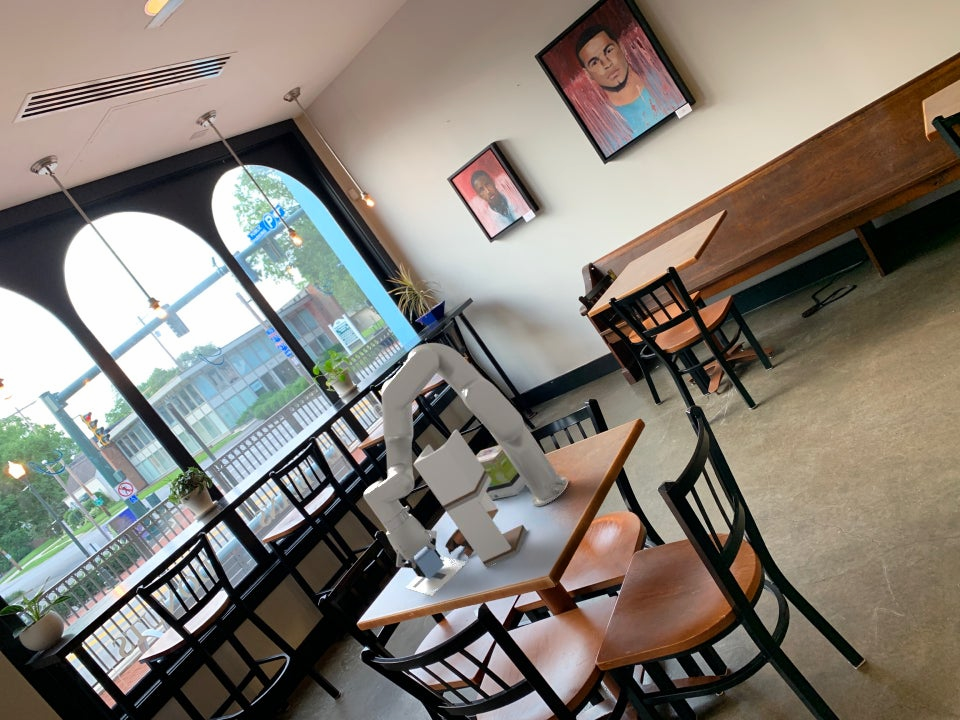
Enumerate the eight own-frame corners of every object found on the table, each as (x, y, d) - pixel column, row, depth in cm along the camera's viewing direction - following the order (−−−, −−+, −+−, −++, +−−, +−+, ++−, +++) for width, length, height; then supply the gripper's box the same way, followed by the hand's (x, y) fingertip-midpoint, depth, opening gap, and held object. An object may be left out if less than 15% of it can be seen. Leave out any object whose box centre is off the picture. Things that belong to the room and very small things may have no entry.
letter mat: (467, 562, 208) (467, 561, 208) (432, 596, 202) (431, 595, 202) (439, 556, 226) (438, 556, 226) (405, 587, 219) (405, 587, 219)
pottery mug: (462, 565, 210) (441, 547, 212) (466, 567, 218) (445, 549, 221) (488, 532, 212) (466, 514, 214) (491, 534, 221) (470, 517, 223)
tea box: (488, 502, 243) (463, 466, 241) (504, 484, 250) (480, 449, 248) (518, 495, 232) (492, 458, 230) (534, 476, 239) (509, 440, 237)
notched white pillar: (518, 553, 193) (444, 447, 188) (486, 568, 197) (413, 464, 192) (526, 530, 203) (456, 429, 198) (496, 544, 207) (426, 445, 202)
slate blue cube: (444, 565, 212) (432, 548, 212) (429, 579, 210) (417, 562, 209) (436, 563, 218) (424, 547, 217) (421, 577, 215) (409, 561, 214)
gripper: (413, 501, 218) (447, 548, 221) (369, 539, 210) (404, 587, 213) (423, 501, 212) (457, 550, 214) (378, 540, 204) (414, 590, 206)
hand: (431, 568), depth 213 cm, fingers closed on slate blue cube, 5 cm apart
